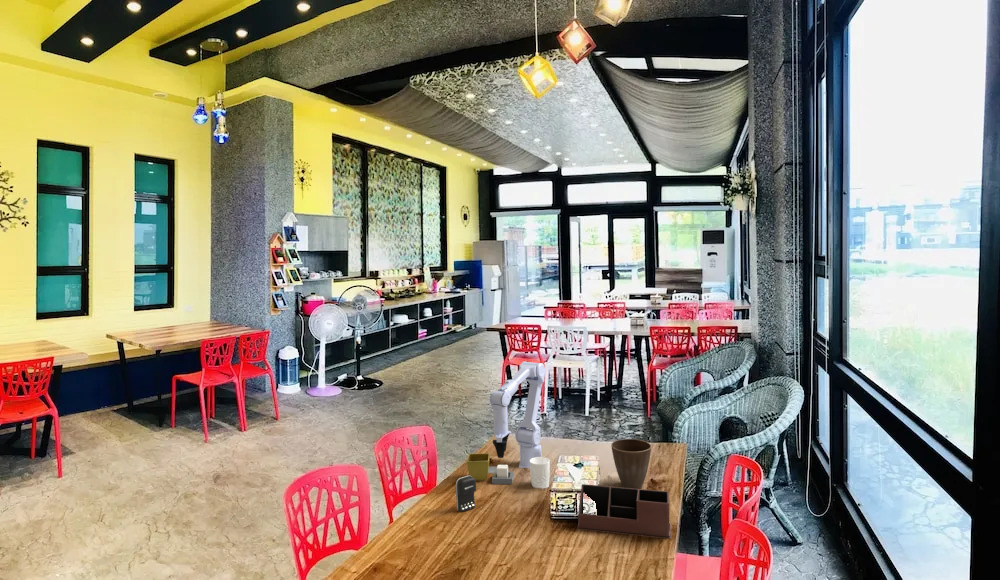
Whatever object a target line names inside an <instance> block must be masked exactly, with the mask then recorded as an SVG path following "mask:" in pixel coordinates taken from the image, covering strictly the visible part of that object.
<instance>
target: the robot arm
mask: <svg viewBox="0 0 1000 580" xmlns="http://www.w3.org/2000/svg"><path fill="white" fill-rule="evenodd" d="M546 371H547V369H546V367H545V365H544V363H542V362H533V361H532V362H530V361H522V362H521V363H520V364H519V367H518V371H517V372H516V373H515V375H514V376H513V377H512V378H511V379H507V380H506V381H505V382H504V383H503V385H501V386H500V387H499V389H498V390H494V391H492V392H491V394H490V397H489V403H490V404H491V409H492V410H493V411H492V414H493V415H492V416H493V417H492V418H493V419H492V420H493V435H494V437H495V439H493V440H492V444H493V446H494V449H495V452H496V456H497V459H504V457H505V452H506V450H507V443H508V439H509V436H510V435H511V434H512V430H509V418H508V417H509V416H508V415H509V414H508V406H509V405H510V402H511V400H512V396H514V395H515V393H516V392H517V391H518V389H519V385H520V384H522V382H524V381H526V382H528V385H529V389H528V393H527V399H526V406H525V410H524V411H525V413H524V418H523V421H521V422H520V423H519V424H518V425H517V429H516V431H515V434H514V437H515V438H514V439H515V441H516V442H517V443H518V445H519V464H518V469H519V468H522V469H524V468H527V469H530V459H532V458H535V457H543V455H542V453H543V451H542V449H543V448H542V444H540V442H541V429H542V428H541V427H540V426H539V425H538V424H537V418H538V412H539V405H540V399H541V394H542V388H543V387H542V386H543V384H544V382H545V378H546Z"/></svg>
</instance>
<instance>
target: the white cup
mask: <svg viewBox="0 0 1000 580" xmlns="http://www.w3.org/2000/svg"><path fill="white" fill-rule="evenodd" d="M550 471H551V460H550V459H549V458H548V457H544V456H542V457H535V458H532V459H530V468H529V472H530V481H531V483H530V484H531V486H532V487H533V488H536V489H548V488H549V487H550V478H551V477H550V474H551V473H550Z"/></svg>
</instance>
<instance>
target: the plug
mask: <svg viewBox="0 0 1000 580" xmlns="http://www.w3.org/2000/svg"><path fill="white" fill-rule="evenodd" d="M508 467H509V465H508V464H497V478H508V471H509V470H508Z"/></svg>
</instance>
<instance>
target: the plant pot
mask: <svg viewBox="0 0 1000 580" xmlns="http://www.w3.org/2000/svg"><path fill="white" fill-rule="evenodd" d="M610 446H611V452H612V456H613V457H612V458H613V462H614V467H615V470H616V473H617V475H618V478H619V481H620V483H621V485H622V488H633V489H643V485H644V483H645V480H646V477H647V474H648V469H649V464H650V460H651V452H652V444H650V442H648V441H645V440H641V439H634V438H627V439H626V438H624V439H618V440H615V441H613V442H611V445H610Z"/></svg>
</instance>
